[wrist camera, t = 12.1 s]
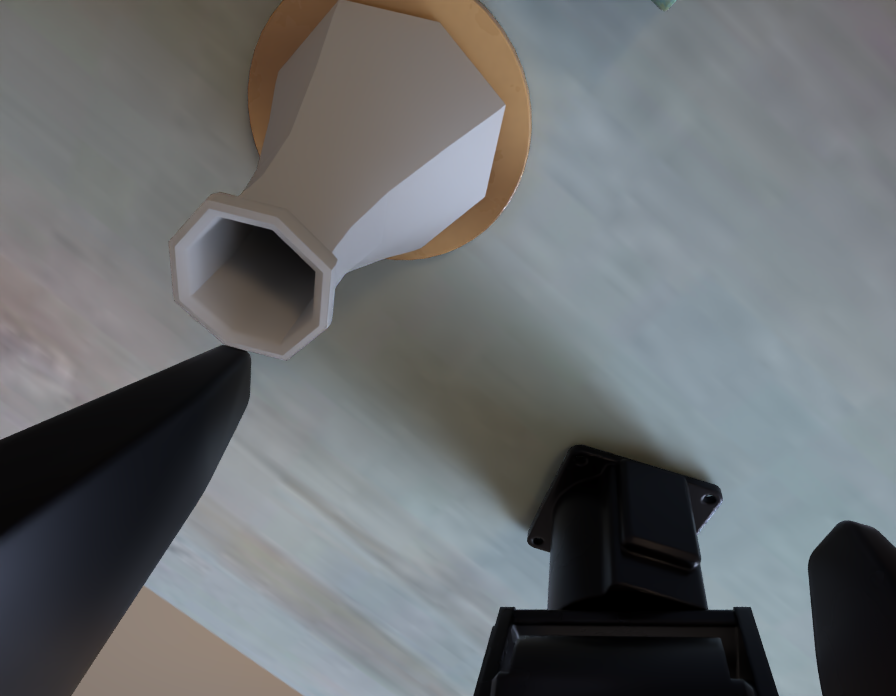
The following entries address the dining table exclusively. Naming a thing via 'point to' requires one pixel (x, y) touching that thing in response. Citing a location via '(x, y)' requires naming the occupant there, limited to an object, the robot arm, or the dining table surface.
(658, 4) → the dish towel
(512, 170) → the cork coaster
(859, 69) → the dining table surface
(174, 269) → the flask
